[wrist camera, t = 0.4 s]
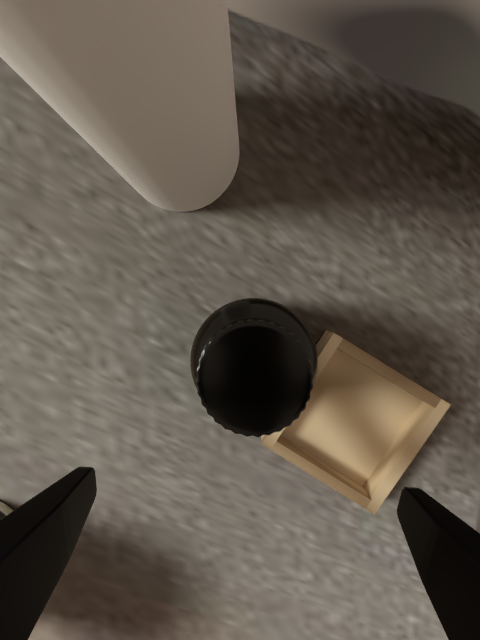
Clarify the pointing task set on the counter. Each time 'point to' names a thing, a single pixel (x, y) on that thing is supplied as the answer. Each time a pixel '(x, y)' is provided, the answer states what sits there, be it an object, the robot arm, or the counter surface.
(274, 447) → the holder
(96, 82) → the paper towel roll
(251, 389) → the supplement bottle
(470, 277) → the counter surface
